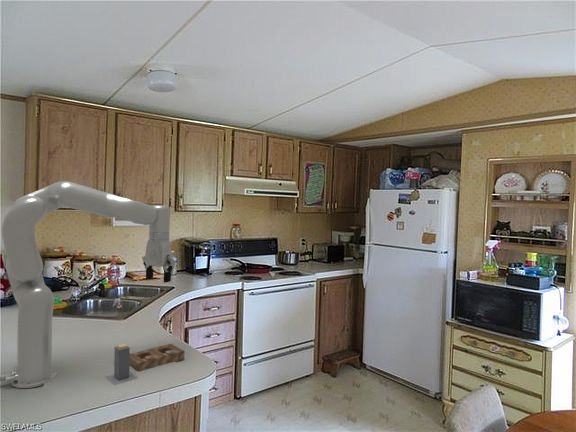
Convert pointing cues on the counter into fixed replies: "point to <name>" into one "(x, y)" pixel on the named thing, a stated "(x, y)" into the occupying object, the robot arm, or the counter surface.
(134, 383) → the counter surface
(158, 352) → the socket board
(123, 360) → the plug
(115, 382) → the mat
